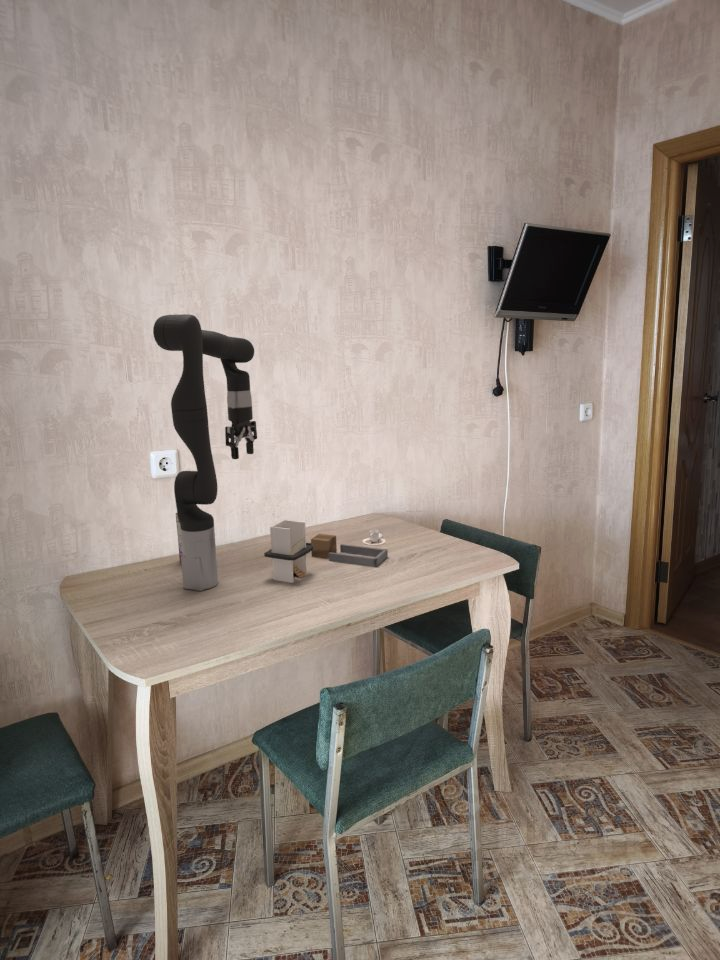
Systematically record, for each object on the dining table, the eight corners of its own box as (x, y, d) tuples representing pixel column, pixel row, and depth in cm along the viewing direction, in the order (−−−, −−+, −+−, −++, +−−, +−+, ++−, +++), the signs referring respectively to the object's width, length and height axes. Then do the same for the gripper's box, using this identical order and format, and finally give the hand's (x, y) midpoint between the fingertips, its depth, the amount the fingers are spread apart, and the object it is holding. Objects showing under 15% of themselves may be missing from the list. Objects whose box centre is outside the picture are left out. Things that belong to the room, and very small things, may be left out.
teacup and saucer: (376, 536, 231) (376, 525, 230) (392, 541, 225) (392, 530, 224) (357, 542, 225) (357, 531, 224) (373, 548, 219) (373, 536, 218)
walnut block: (328, 559, 209) (327, 541, 207) (272, 551, 217) (271, 534, 216) (336, 553, 214) (336, 535, 213) (281, 546, 222) (281, 528, 221)
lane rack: (376, 567, 201) (376, 559, 200) (328, 560, 207) (328, 553, 206) (387, 556, 209) (387, 549, 209) (341, 551, 216) (341, 543, 215)
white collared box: (305, 600, 178) (302, 542, 175) (230, 586, 189) (227, 532, 185) (346, 569, 200) (344, 517, 197) (277, 558, 211) (275, 509, 207)
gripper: (242, 402, 213) (245, 451, 216) (216, 407, 200) (219, 460, 204) (262, 402, 210) (264, 453, 213) (237, 408, 197) (240, 461, 201)
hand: (242, 456), depth 208 cm, fingers open, 8 cm apart
